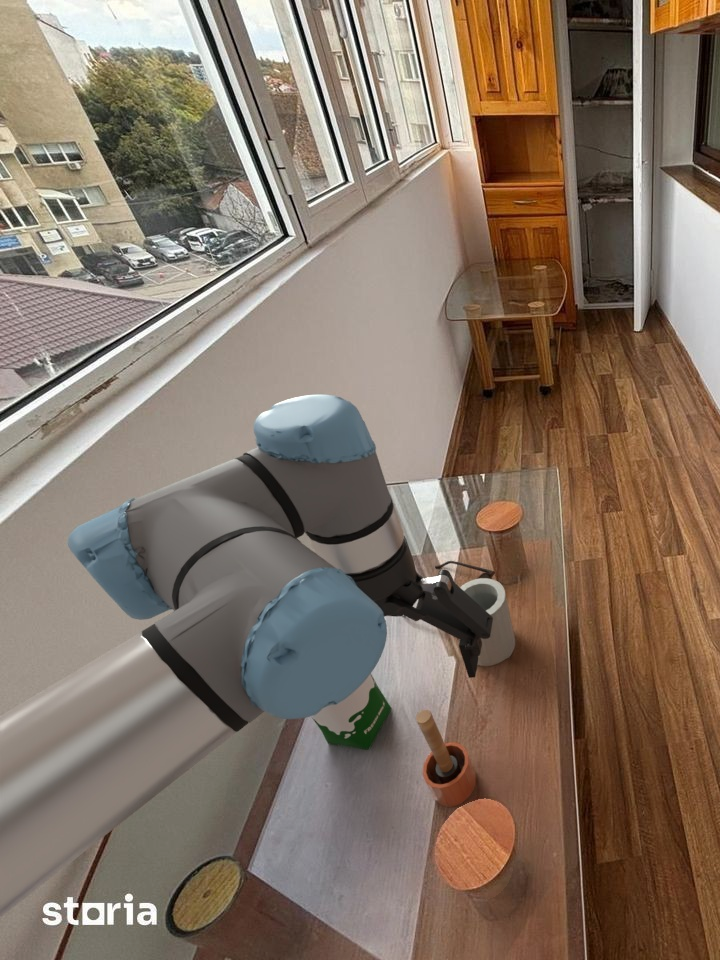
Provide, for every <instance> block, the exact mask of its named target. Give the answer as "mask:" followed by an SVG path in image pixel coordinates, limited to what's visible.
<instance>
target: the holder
mask: <svg viewBox="0 0 720 960" xmlns="http://www.w3.org/2000/svg"><path fill="white" fill-rule="evenodd" d="M444 743H445V746H446V748H447V750H448V753H449V755H452V756H454V757H455V758H456V759H457V761H458V764H459V766H460V768H461V771H462V772H461V773H460V774H459V775H458V776H457V777H456V778H455V779H454V780H452V781H451V782H449V783H446V784H442V783H441V781H440V779H439V777H438V775H437V773H436V765H437V762H436V760H435V758H434V756H433V754H432V751H431V752H430V753H429V754H428V755H427V757H426V758H425V761H424V764H423V766H422V767H423V768H422V776H423V779H424V782H425V784H426V786H427V787H428V789H429V792H430V793H431V795H432V797H433V799H434V801H435V802H436V803H438V804H439V805H440V806H441V807H445V808H451V807H456V806H459V805H461V804H462V803H464V802H465V801H466V800H467V799H469V798H470V796H471V795H472V794H473V792H474V790H475V787H476V784H477V773H476V771H475V768H474V765H473V763H472V760H471V758H470V756H469V753H468V751H467V749H466V747H465V746H463V745H462V744H461V743H458V742H454V741H450V742H444Z"/></svg>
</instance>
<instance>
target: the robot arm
mask: <svg viewBox="0 0 720 960" xmlns="http://www.w3.org/2000/svg"><path fill="white" fill-rule="evenodd" d="M253 433H254V436H255V439H254V440H255V444H256V446H257V447H255V448H253V449H251V450H248V451H246V452H244V453H242V455H240V456H238V457H235V458H234V459H230V460H227V461H225V462H223V463H219V464H217V465H215V466H213V467H210V468H208V469H206V470H203V471H201V472H198V473H195V474H193V475H191V476H188V477H186V478H183V479H180V480H178V481H176V482H173V483H170V484H169V485H165V486H164V487H161V488H159V489H156V490H153V491H151V492H149V493H146V494H143V495H142V496H139V497H133V498H130V499H127V500H126V501H125V502H123V503H122V504H121V505H119V506H117V507H116V508H113V509H110V510H109V511H107V512H105V513H103V514H101V515H98V516H97V517H94V518H93V519H90V520H89V521H86V522H83V523H82V524H80V525H78V526H76V527H75V528H74V529H73V530H72V531H71V533H69V535H68V538H67V546H68V548H69V550H70V551H71V553H72V554H73V555H74V557H75V559H76V560H78V562H79V563H80V564H81V565H82V567H84V568H85V569H86V571H87V572H88V574H89V575H90V576H91V577H92V578H93V579H94V580H95V582H96V583H97V584H98V585H99V586H100V587H101V588H102V590H103V591H104V592H105V593H106V595H108V596H109V597H110V599H112V600H113V601H114V602H115V603H116V604H117V606H118V607H119V608H120V609H121V610H122V611H123V613H125V614H126V615H127V616H128V617H129V618H131V619H134V620H139V621H145V620H151V619H153V618H155V617H157V616H159V615H160V614H163V613H165V612H168V611H169V610H170V611H171V610H173V611H172V612H170V613H169V614H167V615H165V616H163V617H162V618H160V619H158V620H157V621H155V622H154V623H153V624H151V625H150V626H148V627H147V628H145V629H143V630H141V631H140V632H138V633H136V634H134V635H133V636H131V637H130V638H128V639H126V640H125V641H123V642H121V643H120V644H118V645H116V646H115V647H113V648H111V649H109V650H108V651H106V652H104V653H103V654H101V655H100V656H98V657H96V658H94V659H92V660H91V661H90V662H88V663H86V664H84V665H82V666H81V667H80V668H78V669H76V670H74V671H72V672H71V673H69V674H67V675H66V676H64V677H62V678H60V679H59V680H57V681H56V682H54V683H52V684H51V685H49V686H48V687H45V688H44V689H43V690H40V691H39V692H38V693H36V694H34V695H33V696H31V697H29V698H28V699H26V700H24V701H22V702H21V703H19V704H17V705H16V706H14V707H13V708H10V709H9V710H7V711H5V712H4V713H2V714H1V715H0V919H1V918H2V917H3V916H5V915H6V914H8V913H9V912H10V911H11V910H12V909H14V908H15V907H16V906H17V905H19V904H20V903H21V902H23V901H24V900H25V899H26V898H28V897H29V896H30V895H31V894H33V893H34V892H35V891H36V890H38V889H39V888H41V886H43V885H44V884H46V883H47V882H48V881H49V880H50V879H52V878H53V877H55V876H56V875H57V874H58V873H59V872H61V871H62V870H64V868H66V867H67V866H68V865H70V864H71V863H72V862H73V861H74V860H76V859H77V858H78V857H80V856H81V855H82V854H84V853H85V852H86V851H88V850H89V849H90V848H91V847H92V846H94V845H96V843H98V842H99V841H100V840H101V839H102V838H104V837H105V836H106V835H108V834H110V832H112V831H113V830H115V828H117V827H118V826H120V824H122V823H123V822H124V821H125V820H127V819H128V818H130V817H131V816H132V815H133V814H134V813H136V812H137V811H138V810H140V809H141V808H142V807H143V806H144V805H146V804H147V803H149V802H150V801H151V800H152V799H154V798H155V797H156V796H158V795H159V794H160V793H161V792H163V790H165V789H166V788H168V787H169V786H170V785H171V784H172V783H174V782H175V781H177V780H178V779H179V778H180V777H181V776H183V775H184V774H185V773H186V772H188V771H189V770H190V769H193V767H194V766H196V765H197V764H198V763H200V762H201V761H202V760H204V758H205V757H207V756H208V755H209V754H211V753H212V752H213V751H214V750H216V749H217V748H218V747H220V746H221V745H222V744H224V742H226V741H227V740H229V739H230V738H231V737H232V736H234V735H235V734H236V733H237V732H239V731H241V730H242V729H243V728H245V727H246V726H247V725H248V724H251V723H252V722H253V721H255V720H256V719H257V718H258V717H260V716H261V715H263V713H267V714H268V715H270V716H272V717H274V718H278V719H280V720H281V719H282V720H297V719H298V720H299V719H306V718H311V716H313V715H316V714H317V713H318V712H319V711H321V710H322V708H324V707H326V706H329V705H336V704H338V703H340V702H341V701H343V700H344V699H346V698H347V697H348V696H350V695H351V694H352V693H353V692H354V691H355V690H357V689H358V688H359V687H360V686H361V685H362V683H363V682H364V681H365V680H366V679H367V678H368V676H369V675H370V674H372V672H373V671H374V670H375V668H376V667H377V665H378V663H379V661H380V659H381V658H382V655H383V652H384V651H385V650H384V649H385V646H386V644H387V643H386V642H387V636H388V635H387V634H388V629H387V627H388V625H387V621H386V619H385V618H386V617H403V616H405V618H408V619H410V620H412V621H413V622H418V621H423V622H425V623H427V624H428V625H431V626H433V627H435V628H436V629H439V630H440V631H442V632H444V633H446V634H448V635H450V636H452V637H454V638H456V639H458V640H459V642H458V648H459V652H460V654H461V658H462V661H463V664H464V667H465V670H466V673H467V676H468V678H469V679H472V678H473V679H474V678H476V677H477V675H476V674H477V669H478V665H477V664H478V656H480V653H481V647H482V640H481V638H482V639H488V638H490V635H491V628H492V622H493V617H492V616H491V615H490V614H489V613H488V612H486V611H485V610H484V609H483V608H482V607H481V606H480V605H479V604H478V603H476V602H475V601H474V600H473V599H472V598H471V597H470V596H469V595H468V594H467V593H465V592H464V591H463V590H462V589H461V588H460V587H461V586H459V585H458V584H457V583H456V582H455V581H454V577H453V576H452V573H451V571H449V570H448V569H440V570H438V573H437V576H429V577H423V576H422V575H420V574H419V572H418V571H417V569H416V564H415V560H414V557H413V555H412V551H411V549H410V546H409V543H408V539H407V538H406V536H405V535H404V530H403V526H402V523H401V521H400V518H399V515H398V513H397V510H396V507H395V503H394V502H393V499H392V496H391V494H390V491H389V487H388V485H387V482H386V479H385V476H384V472H383V470H382V467H381V463H380V461H379V458H378V454H377V446H376V443H375V441H374V440H373V438H372V436H371V433H370V431H369V429H368V427H367V424H366V422H365V420H364V419H363V417H362V414H361V413H360V410H359V409H358V408H357V406H356V405H354V404H353V403H352V402H351V401H349V400H347V399H344V398H343V397H341V396H338V395H333V394H332V395H331V394H320V393H319V394H307V395H301V396H296V397H292V398H288V399H285V400H283V401H280V402H277V403H274V404H273V405H272V406H271V407H270V409H269V410H266V411H263V412H261V413H259V415H258V416H257V418H256V419H255V421H254V423H253ZM304 534H305V536H306V538H307V540H308V542H309V543H310V546H311V548H312V549H313V550H312V549H311V548H309V547H308V546H307V545H305V544H304V543H302V542H301V540H300V539H298V538H300V537H302V536H304ZM415 604H416V607H414V606H415Z"/></svg>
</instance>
